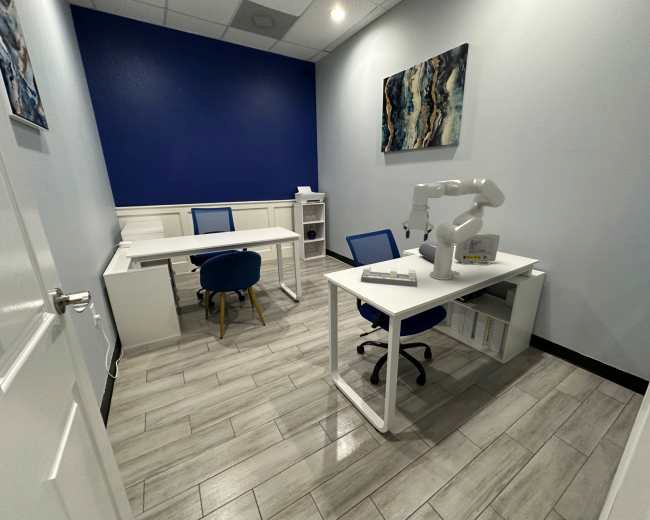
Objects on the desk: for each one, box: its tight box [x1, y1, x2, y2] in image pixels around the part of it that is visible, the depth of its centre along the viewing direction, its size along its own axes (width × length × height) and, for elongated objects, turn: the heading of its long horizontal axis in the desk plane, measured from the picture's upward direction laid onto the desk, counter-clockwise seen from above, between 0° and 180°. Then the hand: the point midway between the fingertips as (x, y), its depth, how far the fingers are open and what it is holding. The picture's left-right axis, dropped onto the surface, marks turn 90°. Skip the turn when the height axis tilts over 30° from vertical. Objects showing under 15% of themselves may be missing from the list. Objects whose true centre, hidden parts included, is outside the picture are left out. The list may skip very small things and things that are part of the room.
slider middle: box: [389, 268, 398, 278], centre depth 156 cm, size 4×5×4 cm
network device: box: [453, 233, 501, 266], centre depth 185 cm, size 26×9×20 cm, turn 88°
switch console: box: [360, 271, 418, 288], centre depth 158 cm, size 30×10×3 cm, turn 76°
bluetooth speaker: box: [418, 243, 436, 264], centre depth 192 cm, size 23×9×10 cm, turn 13°
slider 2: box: [407, 269, 417, 279], centre depth 154 cm, size 4×5×4 cm
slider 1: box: [362, 265, 371, 275], centre depth 160 cm, size 4×5×4 cm
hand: (416, 239), depth 152 cm, fingers open, 9 cm apart
